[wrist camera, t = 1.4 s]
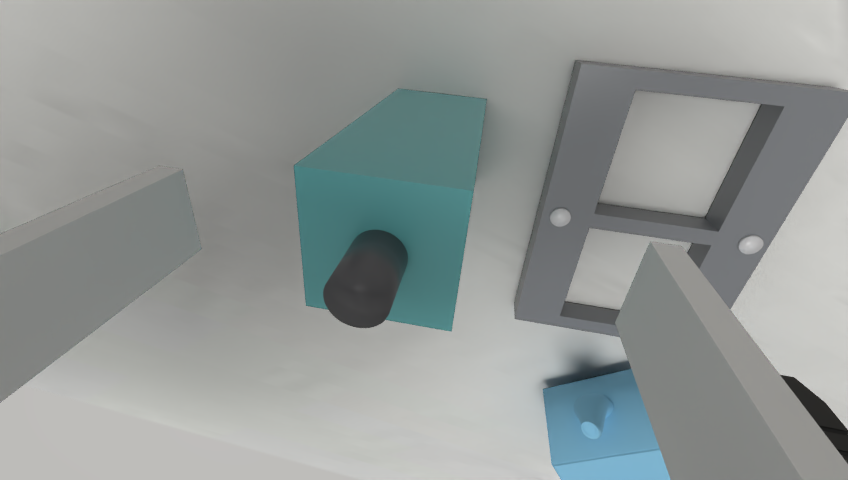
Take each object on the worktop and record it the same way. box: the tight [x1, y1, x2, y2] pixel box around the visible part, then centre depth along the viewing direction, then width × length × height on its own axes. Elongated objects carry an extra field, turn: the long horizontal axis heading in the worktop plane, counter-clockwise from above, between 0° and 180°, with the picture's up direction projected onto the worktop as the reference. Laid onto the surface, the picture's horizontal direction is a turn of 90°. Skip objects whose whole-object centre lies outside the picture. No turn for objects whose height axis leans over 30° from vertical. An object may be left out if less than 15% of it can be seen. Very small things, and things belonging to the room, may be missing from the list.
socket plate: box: [514, 60, 848, 337], centre depth 21 cm, size 11×14×2 cm
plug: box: [294, 89, 487, 331], centre depth 15 cm, size 4×4×14 cm
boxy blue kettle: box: [543, 369, 671, 480], centre depth 25 cm, size 12×6×8 cm, turn 30°
